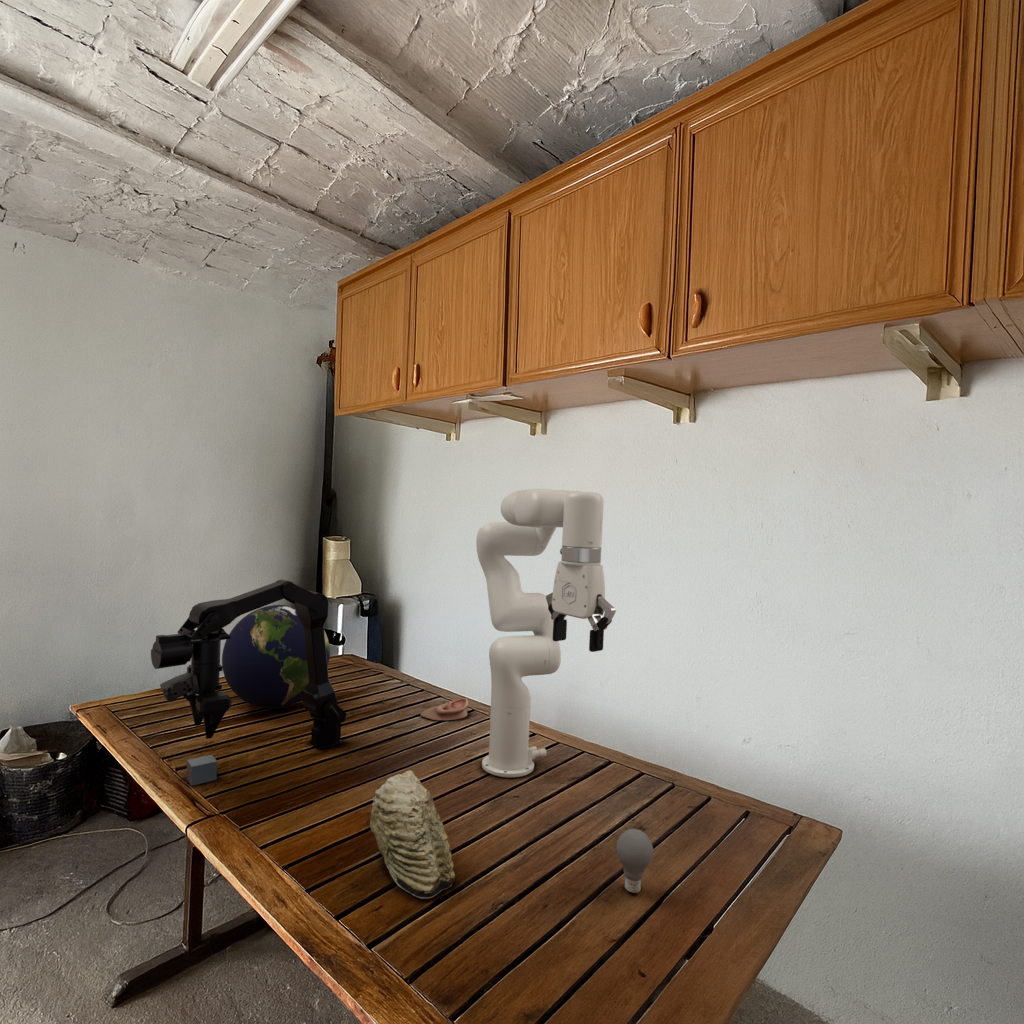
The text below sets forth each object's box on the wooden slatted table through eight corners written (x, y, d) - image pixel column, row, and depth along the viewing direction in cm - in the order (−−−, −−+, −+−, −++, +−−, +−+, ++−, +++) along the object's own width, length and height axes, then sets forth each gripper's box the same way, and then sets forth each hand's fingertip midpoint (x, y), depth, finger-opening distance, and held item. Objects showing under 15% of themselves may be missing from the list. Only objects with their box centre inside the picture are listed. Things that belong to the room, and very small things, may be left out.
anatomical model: (416, 704, 183) (430, 693, 194) (416, 718, 183) (429, 705, 194) (461, 709, 180) (471, 697, 192) (460, 723, 180) (471, 710, 192)
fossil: (399, 838, 118) (402, 759, 118) (464, 883, 106) (468, 794, 105) (357, 856, 112) (361, 772, 112) (421, 906, 99) (425, 811, 99)
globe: (289, 685, 209) (292, 594, 208) (348, 705, 191) (352, 606, 191) (199, 706, 185) (203, 604, 184) (258, 732, 167) (262, 619, 167)
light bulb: (610, 879, 108) (613, 822, 108) (644, 879, 109) (647, 822, 109) (619, 902, 102) (622, 840, 102) (655, 901, 103) (658, 840, 103)
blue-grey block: (186, 778, 139) (186, 759, 139) (211, 772, 143) (211, 754, 143) (191, 785, 136) (191, 766, 136) (216, 779, 139) (217, 761, 139)
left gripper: (155, 656, 141) (152, 726, 141) (175, 676, 127) (172, 754, 127) (209, 650, 148) (206, 716, 148) (233, 669, 134) (230, 742, 134)
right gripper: (536, 552, 125) (532, 638, 125) (602, 561, 112) (597, 657, 112) (563, 551, 130) (559, 634, 130) (629, 560, 117) (625, 652, 117)
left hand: (203, 731), depth 139 cm, fingers open, 9 cm apart
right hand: (577, 645), depth 121 cm, fingers open, 9 cm apart
